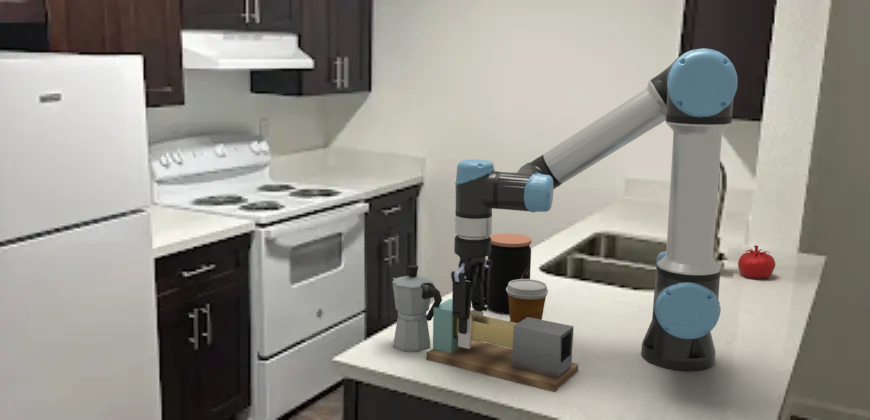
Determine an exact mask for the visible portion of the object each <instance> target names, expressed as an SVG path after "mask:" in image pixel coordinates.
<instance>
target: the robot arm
mask: <svg viewBox="0 0 870 420" xmlns="http://www.w3.org/2000/svg"><path fill="white" fill-rule="evenodd" d="M738 81H739V80H738V74H737V71H736V68H735V66H734V63H732V61H731V60H730V58H729V57H727V56H726V55H725V54H723V53H722V52H721V51H719V50H715V49H711V48H706V47H705V48H694V49H691V50H688V51H686V52H684V53H682V54H681V55H679V56H678V57H677V58H676V59H674V61H673V62H672V63H671V64H670V65H668V67H666V68H665V69H664V70H663V71H661V72H660V73H659V74H657V75H656V76H654V77H652V78H651V79H650V80H648V82H647V87H646V88H644V89H643V90H642V91H640V92H638V93H637V94H635V95H633V96H632V97H631V98H629V99H627V100H626V101H624V102H623V103H621V104H620V105H618V106H617V107H614V108H613V109H612V110H610V111H608V112H607V113H606V114H604V115H602V116H601V117H599V118H598V119H596V120H595V121H592V122H591V123H590V124H589V125H587V126H585V127H584V128H582V129H581V130H578V131H577V132H575V133H574V134H573V135H571V136H570V137H568V138H566V139H565V140H563V141H562V142H560V143H559V144H557V145H555V146H553V147H552V148H551V149H549V150H548V151H546V152H544V153H542V155H540V156H538V157H537V158H535V159H534V160H532V161H530V162H527V163H526V164H524V165H522V166H520V168H519V169H518V171H517V172H507V171H497V170H495V167H494V163H493V161H491V160H487V159H486V160H485V159H475V158H473V159H471V158H470V159H464V160H461V161H459V162H458V164H457V166H456V178H455V182H454V185H455V213H454V214H455V216H454V223H455V225H454V233H455V234H456V235H455V236H454V245H453V246H454V249H453V250H454V251H453V252H454V254H455V255H457V256H458V257H459V262H458V269H457V270H456V271H454V270H452V271H451V273H450V277H451V282H452V292H451V293H452V298H451V299H452V316H453V317H458V318H459V325H458V346H459V347H463V348H468V349H470V348H471V340H473V339H471V331H472V318H470V313H472V314H477V315H481V316H484V315H483V313H484V312H487V311H488V310H489V307H488V303H489V286H490V270H491V265H492V260H488V258H486V257H488V255H490V253H491V238H490V236H492V235H493V234H492V233H493V229H492V227H493V224H492V223H493V209H494V210H495V209H496V210H509V211H520V212H530V213H536V212H537V213H538V212H539V213H542V212H543V213H544V212H545V213H546V212H549V210H551V208H552V204H553V199H554V190H555V189H557V188H558V187H560V186H561V185H563V183H566V182H567V181H569V180H570V179H572V178H574V177H576V176H577V175H579V174H581V173H582V172H583V171H585V170H587V169H589V168H590V167H592V166H594V165H595V164H597V163H599V162H601V161H602V160H603V159H605V158H607V157H608V156H610V155H612V154H613V153H614V152H617V151H618V150H619V149H621V148H623V147H625V146H626V145H628V144H630V143H632V141H635V140H636V139H638V138H639V137H641V136H643V135H644V134H647V132H649V131H651V130H652V129H654V128H655V127H657V126H659V125H661V124H662V123H664V122H665V124H666V125H667V126H668V127H669V128H670V129H671V130H672V132H673V133H672V134H673V135H672V137H673V138H672V152H671V167H670V169H671V170H670V183H669V184H670V186H669V187H670V188H669V201H668V218H667V219H668V220H667V233H666V235H667V237H666V250H665V251H661V252H659V253H658V255H657V257H656V262H655V280H654V288H653V289H654V290H653V291H654V293H653V294H654V295H653V302H652V303H653V305H652V317H651V321H650V323H649V326H648V328H647V331H646V333H645V335H644V337H643V339H642V343H641V351H640V353H641V357H642V358H644V360H646V361H648V362H650V363H651V364H653V365H656V366H659V367H662V368H666V369H672V370H677V371H701V370H706V369H708V368H709V369H710V367H713V366H714V365H715V363H716V348H715V345H714V344H715V343H714V340H713V336H712V331H713V330H714V328H715V327H716V325H717V323H718V321H719V319H720V316H721V312H722V311H721V305H720V304H721V303H720V301H719V297H720V294H719V293H720V282H721V281H720V280H721V269H722V268H721V266H720V265H719V264H718V262H716V260H715V257H714V247H715V235H716V234H715V233H716V221H717V220H716V219H717V207H718V206H717V205H718V204H717V203H718V191H719V180H720V179H719V177H720V165H721V153H722V152H721V150H722V139H723V138H722V137H723V133H724V132H725V131H726V130H727V129H728V128H729V127H730V126H732V122H733V107H734V97H735V95H736V92H737V90H738V83H739V82H738ZM474 341H477V340H474ZM478 342H482V341H478Z"/></svg>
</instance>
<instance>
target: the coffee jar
mask: <svg viewBox="0 0 870 420" xmlns="http://www.w3.org/2000/svg"><path fill="white" fill-rule="evenodd" d="M490 238H491V253H490V255H488V256H487V259H488V260H492V265H491V270H490V286H489V303H488V305H487V307H488V310H491V312H494V313H498V314H504V315H510V311H509V300H508V294H507V291H506V288H507V287H508V283H509V282H510V281H512V280H517V279H531V264H532V263H531V262H532V248H531V246H530V245H531V244H532V238H531V237H530V236H528V235H523V234H519V233H497V234H491V235H490Z"/></svg>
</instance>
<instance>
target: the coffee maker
mask: <svg viewBox="0 0 870 420" xmlns="http://www.w3.org/2000/svg"><path fill="white" fill-rule="evenodd" d="M406 267H407V271H408V272H407V273H408V275H405V276H399V277H392V279H393V280H392V290H393V299H394V304H395V305H394V307H395V310H396V311H397V320H396V325H395V333H394V339H393V343H392V347H393V348H394V349H397V350H399V351H400V352H405V353H406V352H407V353H408V352H409V353H415V352H416V353H419V352H423V351H425V350H428V349H429V350H430V348H431V337H430V330H429V322H430V321H432V320H433V308H434V307H437V306H439V305H440V304H441V303H442V301H443V297H442V295H441V291H440V290H439V289H438V288H436V285H435V284H434V282H433V281H432V280H431V279H429V278H428V277H424V276H418V275H417V274H418V270H419V266H418V265H416V264H409V265H407V266H406ZM432 299H433V300H434V302H433V304H432V305H431V300H432ZM430 305H431V306H430Z"/></svg>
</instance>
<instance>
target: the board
mask: <svg viewBox="0 0 870 420" xmlns="http://www.w3.org/2000/svg"><path fill="white" fill-rule="evenodd" d="M512 352H513V349H512V348H508V347H503V346H499V345H495V344H490V343H486V342H482V341H481V342H478V341H474V340H471V348H470V349H468V348H463V347H461V348H459V349H457V350H456V351H454V352H452V353H448V352H444V351H439V350H435V349H433V348H432V349H429V350H428V351H427V352H426V356H425V357H426V358H425V359H426V360H428V361H432V362H434V363H435V362H436V363H440V364H444V365H448V366H452V367H454V368H455V367H456V368H460V369H463V370H467V371H472V372H476V373H479V374H483V375H487V376H491V377H495V378H498V379H503V380H507V381H510V382H515V383H518V384H522V385H527V386H530V387H535V388H539V389H542V390H546V391H550V392H554V393H555V392H556V391H557V390H558V389H560V388H561V387H562V386H563V385H564V384H566V382H568V381H569V380H570V379H571V378H572V377H574V375H576V373H577V372H579V363H576V362H572V364H571V369H569V370H568V371H567V372H566V373H565V374H564V375H562V376H561V377H560V378H559V379H556V378H552V377H548V376H544V375H539V374H535V373H531V372H527V371H523V370H519V369H515V368H512Z"/></svg>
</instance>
